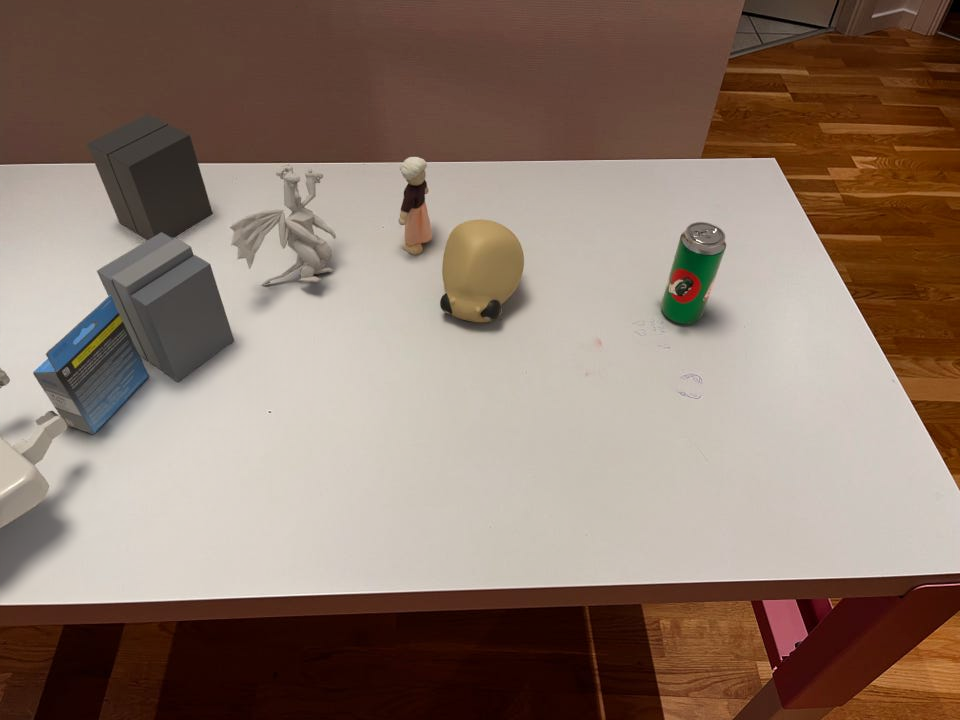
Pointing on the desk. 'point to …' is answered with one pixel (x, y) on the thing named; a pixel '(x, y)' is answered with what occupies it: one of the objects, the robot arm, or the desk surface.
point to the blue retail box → (92, 369)
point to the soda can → (693, 272)
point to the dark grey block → (151, 177)
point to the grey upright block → (168, 304)
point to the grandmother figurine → (415, 206)
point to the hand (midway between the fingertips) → (31, 394)
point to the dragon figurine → (288, 229)
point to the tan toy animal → (480, 270)
